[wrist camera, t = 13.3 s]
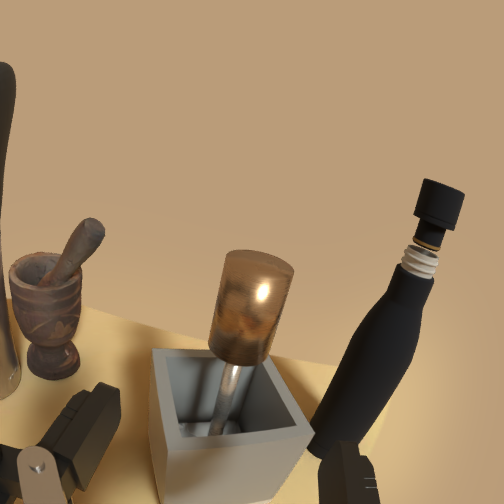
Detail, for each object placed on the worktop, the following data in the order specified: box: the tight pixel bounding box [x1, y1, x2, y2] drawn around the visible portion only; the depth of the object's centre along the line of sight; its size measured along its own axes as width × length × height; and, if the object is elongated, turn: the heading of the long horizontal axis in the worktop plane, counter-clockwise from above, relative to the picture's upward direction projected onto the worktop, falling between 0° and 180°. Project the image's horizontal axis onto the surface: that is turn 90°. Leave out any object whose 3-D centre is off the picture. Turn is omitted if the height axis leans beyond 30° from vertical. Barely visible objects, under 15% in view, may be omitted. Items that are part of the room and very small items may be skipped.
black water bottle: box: [307, 179, 465, 460], centre depth 27 cm, size 6×6×30 cm
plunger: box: [178, 250, 294, 438], centre depth 22 cm, size 7×7×19 cm
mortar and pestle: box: [9, 218, 105, 380], centre depth 30 cm, size 12×9×20 cm
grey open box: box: [148, 348, 315, 504], centre depth 24 cm, size 10×10×12 cm
